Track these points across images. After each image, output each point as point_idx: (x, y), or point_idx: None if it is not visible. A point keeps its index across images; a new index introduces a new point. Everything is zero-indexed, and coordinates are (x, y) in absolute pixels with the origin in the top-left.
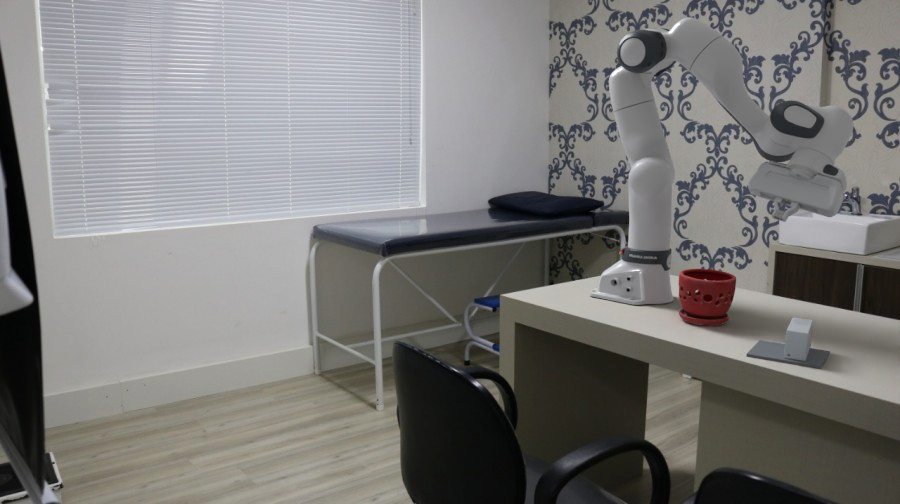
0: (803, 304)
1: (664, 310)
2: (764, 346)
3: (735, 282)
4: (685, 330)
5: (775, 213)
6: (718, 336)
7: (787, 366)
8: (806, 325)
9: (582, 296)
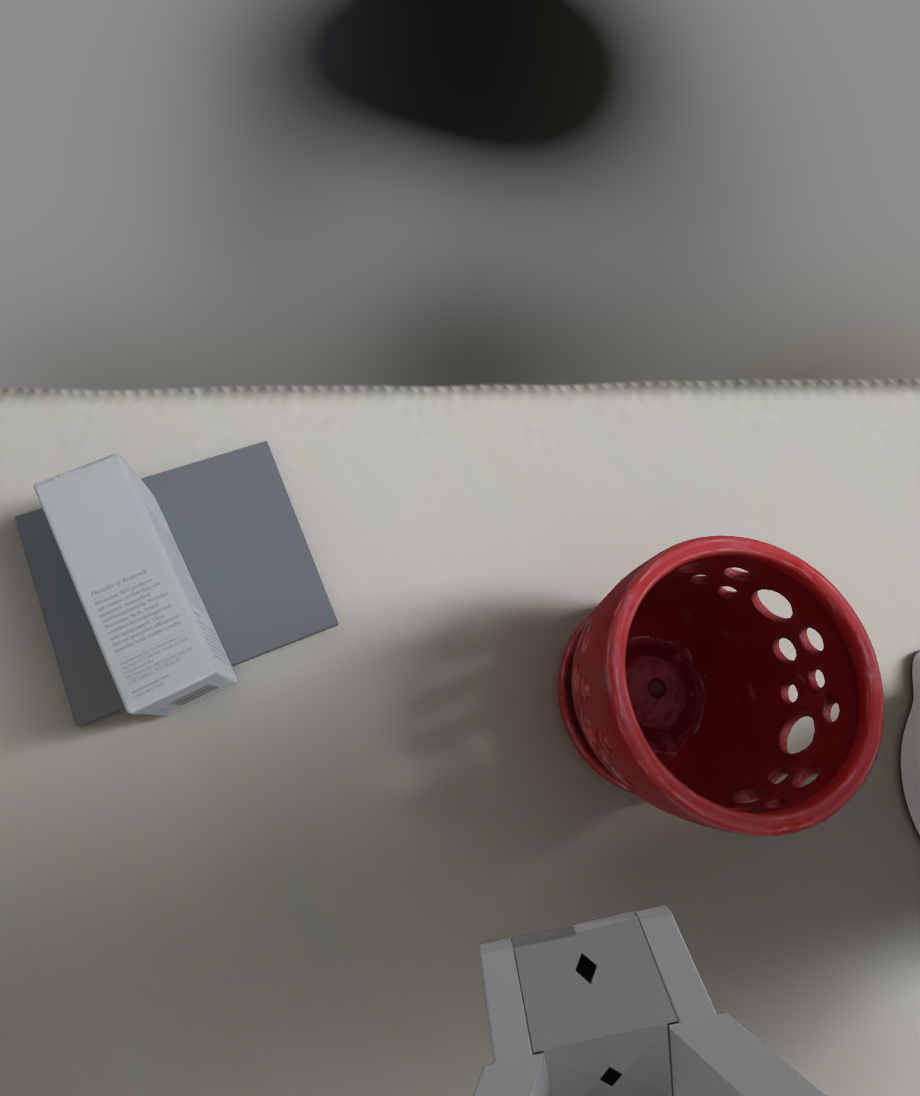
0: None
1: None
2: (278, 565)
3: (621, 747)
4: (581, 532)
5: (636, 940)
6: (470, 565)
7: None
8: (98, 591)
9: None
